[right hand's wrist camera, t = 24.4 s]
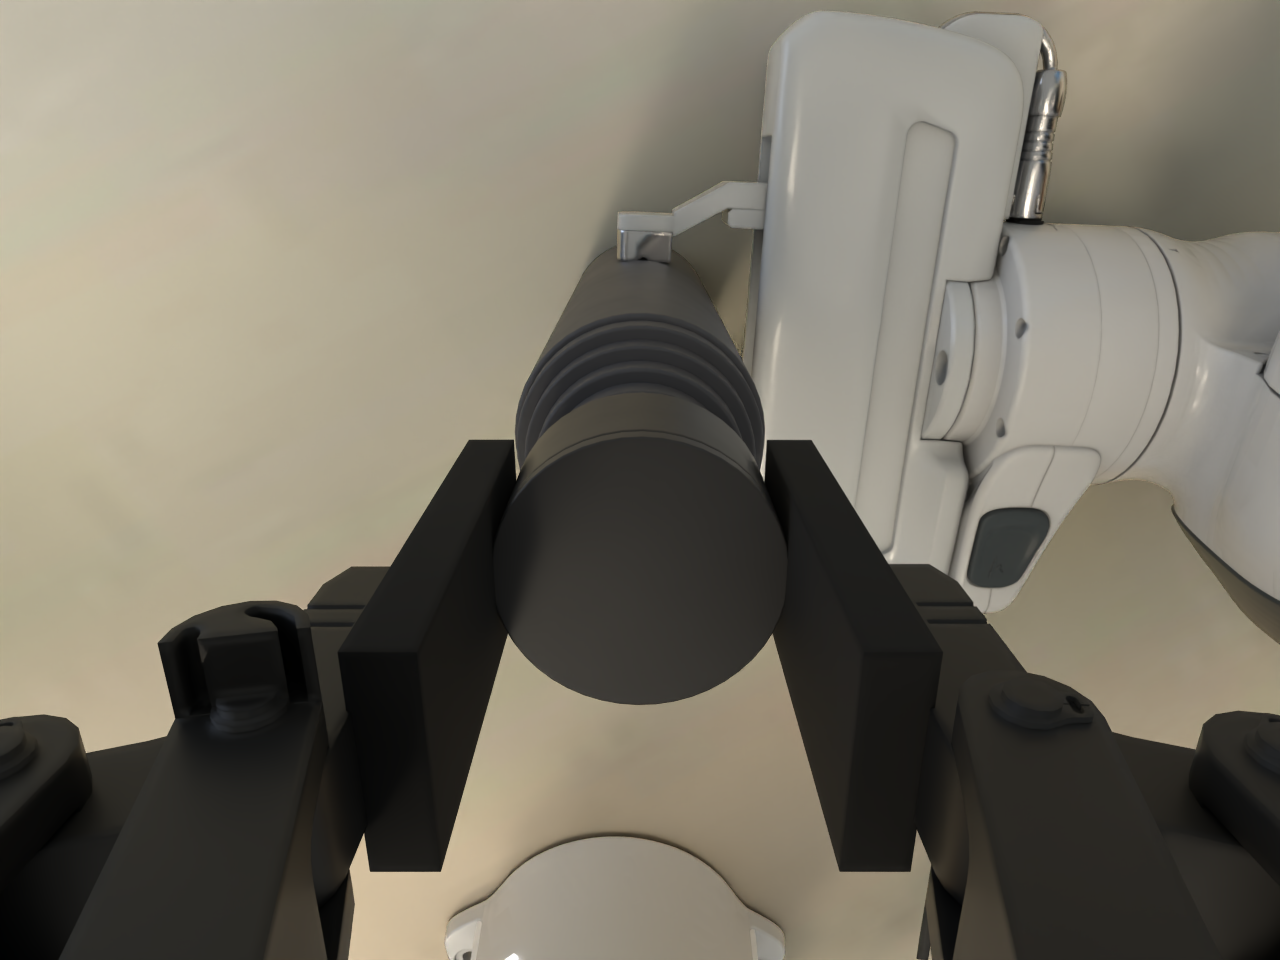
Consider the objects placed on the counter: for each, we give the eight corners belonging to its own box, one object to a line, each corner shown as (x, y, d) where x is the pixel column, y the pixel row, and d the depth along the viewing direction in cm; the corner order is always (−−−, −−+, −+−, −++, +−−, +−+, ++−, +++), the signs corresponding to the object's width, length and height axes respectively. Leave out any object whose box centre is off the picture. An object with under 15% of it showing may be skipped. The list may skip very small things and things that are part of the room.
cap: (461, 511, 14) (427, 576, 12) (643, 336, 13) (643, 371, 11) (637, 666, 15) (636, 753, 13) (817, 516, 14) (852, 583, 12)
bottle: (635, 400, 36) (628, 768, 14) (546, 304, 34) (383, 548, 13) (733, 315, 35) (893, 572, 13) (645, 211, 33) (655, 302, 11)
